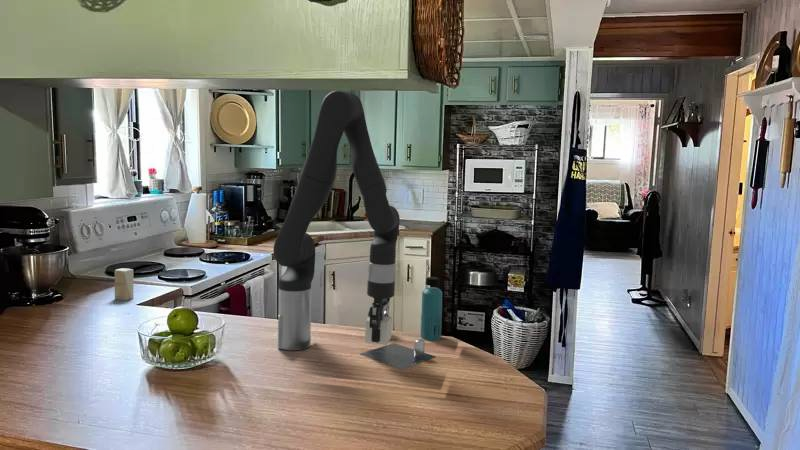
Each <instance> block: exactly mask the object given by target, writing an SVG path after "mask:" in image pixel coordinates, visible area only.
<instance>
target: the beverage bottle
mask: <svg viewBox="0 0 800 450" xmlns="http://www.w3.org/2000/svg"><path fill="white" fill-rule="evenodd" d="M425 285H426V286H427V287H426V288H424V289H423V290H422V292H421V313H420V314H421V315H420V339H422V340H424V341H430V342H431V341H439V340H441V337H442V335H443V334H442V330H443V323H442V321H443V319H442V318H443V291H442V290H441V289H440V288H439V287H437V286H439V285H440V278H439V277H438V276H437V277H436V276H428V277H426V279H425ZM428 286H429V287H428Z"/></svg>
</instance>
